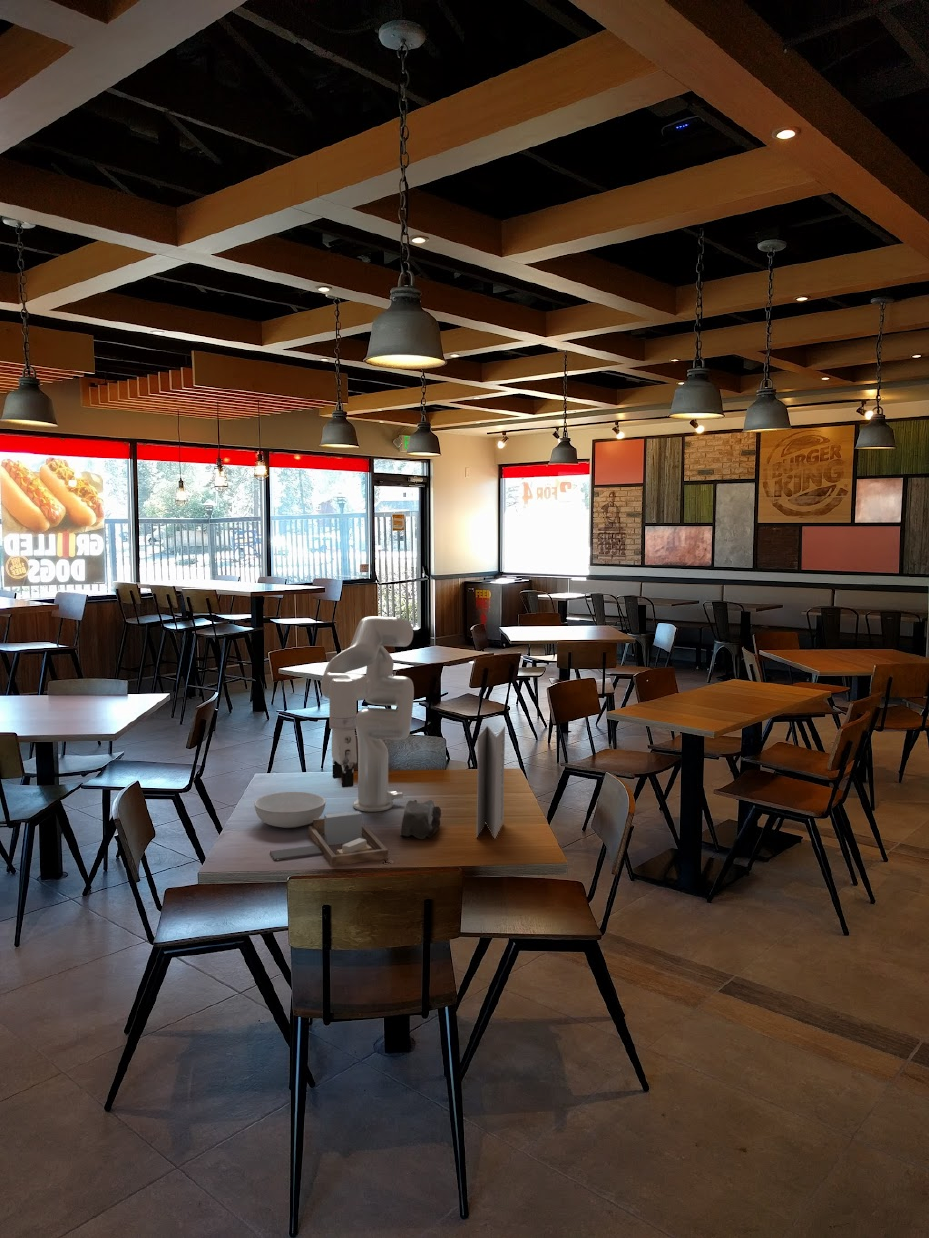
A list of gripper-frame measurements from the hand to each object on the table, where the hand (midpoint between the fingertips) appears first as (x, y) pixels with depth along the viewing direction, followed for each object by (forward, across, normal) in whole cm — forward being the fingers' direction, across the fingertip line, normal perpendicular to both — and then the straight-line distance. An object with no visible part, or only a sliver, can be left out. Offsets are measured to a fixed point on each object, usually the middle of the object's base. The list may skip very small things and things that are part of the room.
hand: (342, 782), depth 254 cm
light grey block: (+17, 0, 0) cm, 17 cm away
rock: (+17, +1, -24) cm, 30 cm away
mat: (+17, -5, +14) cm, 23 cm away
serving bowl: (+17, +21, +10) cm, 29 cm away
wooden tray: (+17, -4, 0) cm, 18 cm away
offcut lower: (+18, -11, 0) cm, 21 cm away
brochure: (+17, -6, -43) cm, 47 cm away
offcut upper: (+16, -11, 0) cm, 19 cm away
